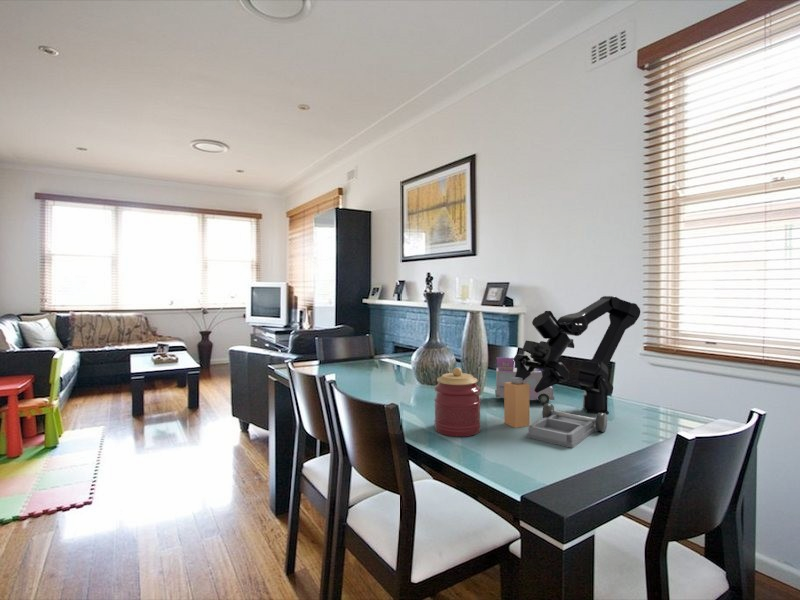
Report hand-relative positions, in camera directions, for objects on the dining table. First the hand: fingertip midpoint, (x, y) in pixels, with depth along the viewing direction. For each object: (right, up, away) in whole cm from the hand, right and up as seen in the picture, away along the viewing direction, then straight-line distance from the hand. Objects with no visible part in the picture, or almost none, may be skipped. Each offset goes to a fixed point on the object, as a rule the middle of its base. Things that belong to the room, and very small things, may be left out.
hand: (524, 388), depth 126 cm
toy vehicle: (+7, -10, +25) cm, 28 cm away
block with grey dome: (-3, -10, -1) cm, 11 cm away
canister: (-21, -11, -6) cm, 24 cm away
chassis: (+9, -10, -8) cm, 16 cm away
